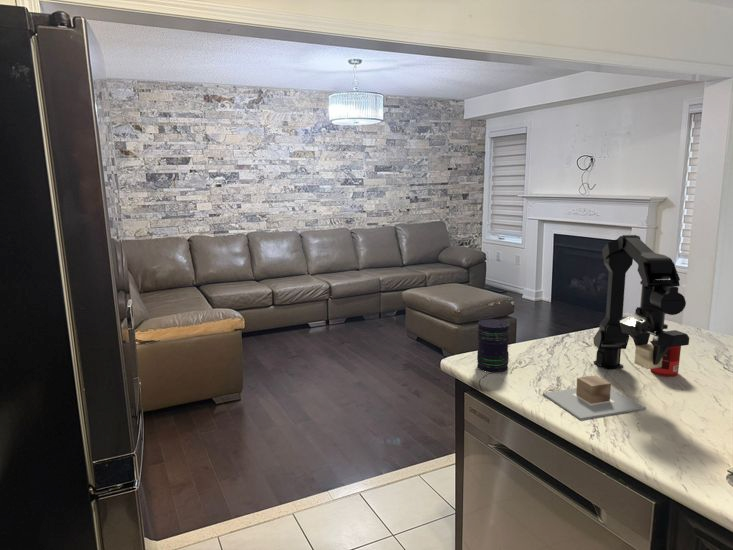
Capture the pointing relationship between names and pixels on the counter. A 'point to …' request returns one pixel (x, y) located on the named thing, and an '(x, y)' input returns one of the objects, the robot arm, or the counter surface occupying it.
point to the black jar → (493, 345)
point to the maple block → (645, 356)
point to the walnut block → (593, 389)
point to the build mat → (588, 410)
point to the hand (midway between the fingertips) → (648, 361)
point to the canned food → (669, 362)
